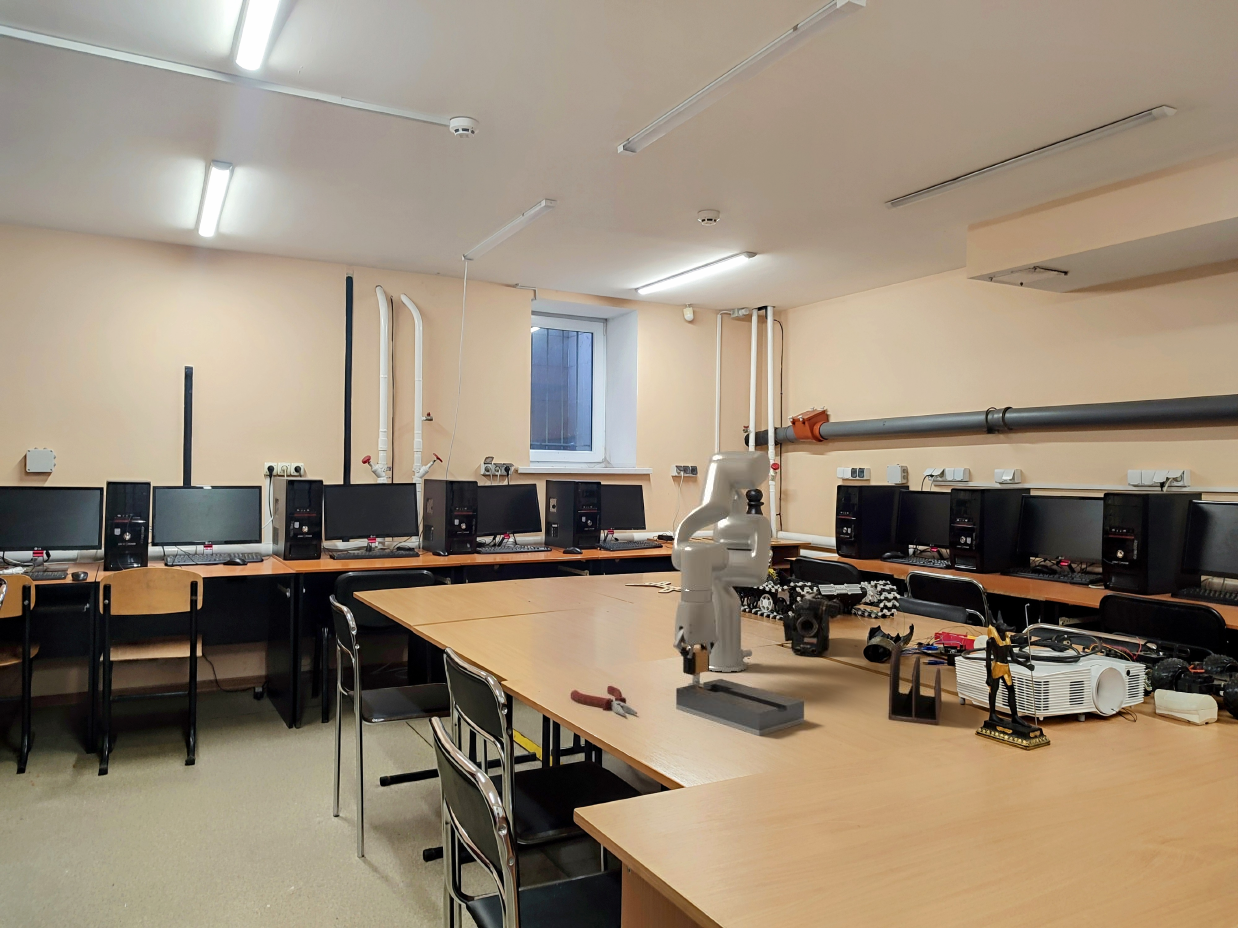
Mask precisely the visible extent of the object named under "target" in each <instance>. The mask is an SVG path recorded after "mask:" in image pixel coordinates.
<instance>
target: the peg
mask: <svg viewBox="0 0 1238 928" xmlns="http://www.w3.org/2000/svg"><path fill="white" fill-rule="evenodd" d="M687 650H688V648H687ZM692 658H694V675H691V676H692V677H691V678H692V679H691V681H692V682H689V683H687V686H689V685H694V684H695V685H698V686H702V687H703V683H702V682H701V679H700V678H701V674H702V673H708V672H707V671H708V650H704V649H700V648H699V647H694V649H693V655H692Z"/></svg>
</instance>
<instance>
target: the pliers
mask: <svg viewBox="0 0 1238 928" xmlns="http://www.w3.org/2000/svg"><path fill="white" fill-rule="evenodd" d="M606 690H607V691H606V692H607V694H608V695H610V696H612V697H614V699H613V698H610V697H608V698H606V697H602V696H595V695H590V694H587V693H586V694H585V693H582V692H580V691H578V690H576V689H574V690H572V691H571V692H570V699H571V700H572V701H573V702H575V703H577V704H581V705H583V706H584V705H585V706H590V707H594V708H598V709H599V708H600V709H602V711H605V712H606V711H607V710H609V711H610V710H612V712H614V713H615V714H618V715H621V716H624V717H626V714H630V715H631V714H634V715H637V714H638V711H636V710H635V709H633V708H632V707H631V706H630V705H628V704H627V699H626V697H623V694H622V691H621V690H620V689H619V688H618V687H615V686H613V685H608V686H607V689H606Z"/></svg>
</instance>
